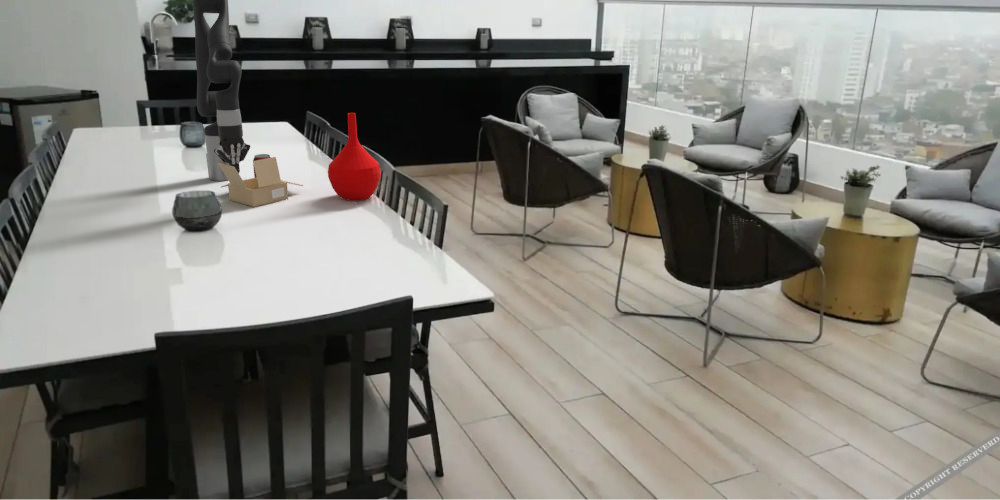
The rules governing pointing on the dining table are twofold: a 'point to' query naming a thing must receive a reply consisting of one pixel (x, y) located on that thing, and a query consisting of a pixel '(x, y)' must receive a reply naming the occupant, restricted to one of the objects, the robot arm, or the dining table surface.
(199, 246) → the dining table surface
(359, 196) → the vase
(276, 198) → the carton
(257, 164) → the front flap
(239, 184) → the right flap
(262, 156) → the beverage can
